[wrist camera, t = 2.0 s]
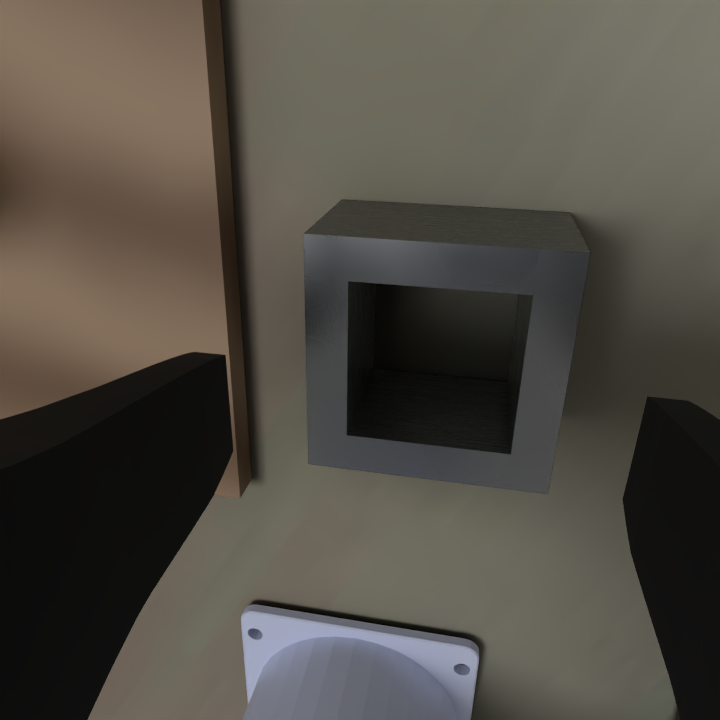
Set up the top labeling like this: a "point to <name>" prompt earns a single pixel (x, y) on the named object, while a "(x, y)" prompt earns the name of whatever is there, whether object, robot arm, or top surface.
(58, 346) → the board
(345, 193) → the top surface
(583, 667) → the top surface
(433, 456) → the collar
